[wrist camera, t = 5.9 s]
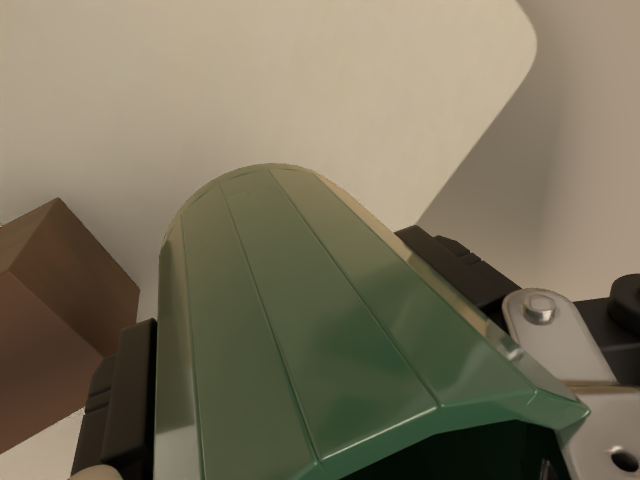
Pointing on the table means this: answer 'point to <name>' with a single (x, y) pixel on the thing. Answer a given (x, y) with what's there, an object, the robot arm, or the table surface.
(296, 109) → the table surface
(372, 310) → the cup
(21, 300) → the walnut block
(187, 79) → the table surface
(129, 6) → the table surface
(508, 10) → the table surface
